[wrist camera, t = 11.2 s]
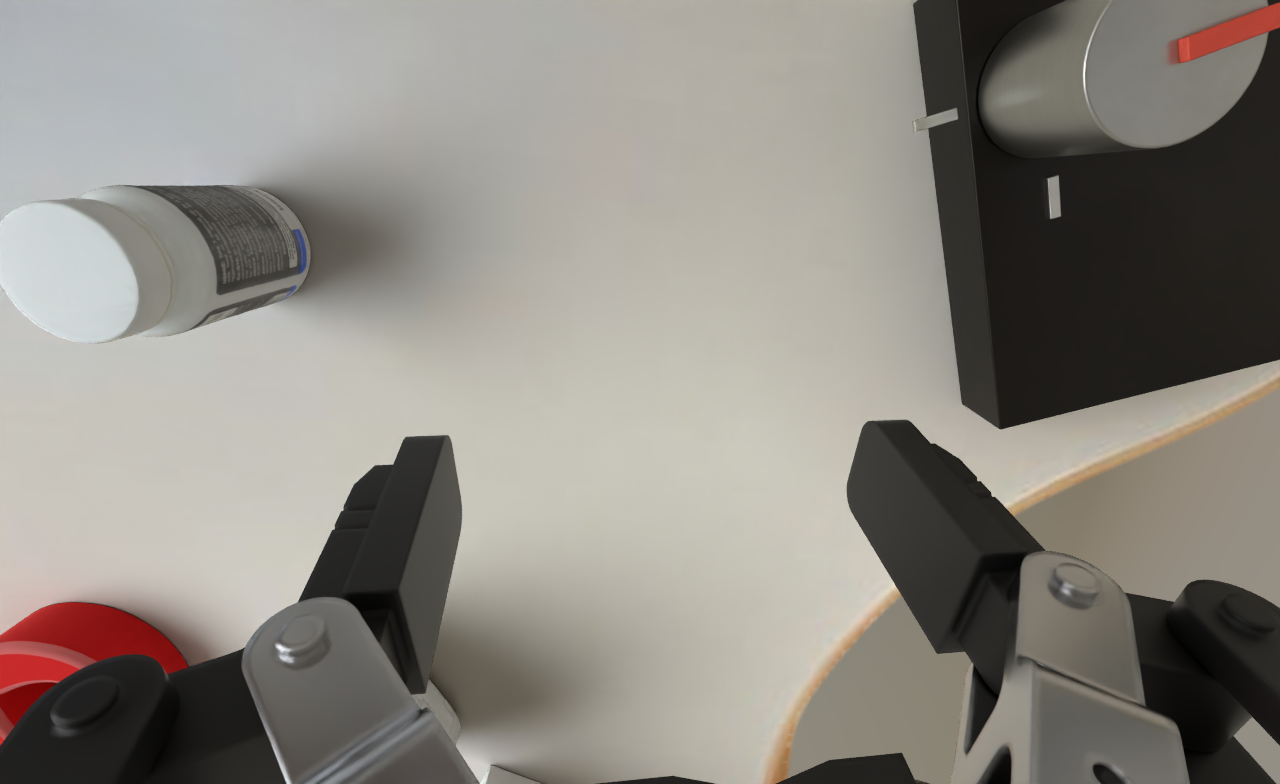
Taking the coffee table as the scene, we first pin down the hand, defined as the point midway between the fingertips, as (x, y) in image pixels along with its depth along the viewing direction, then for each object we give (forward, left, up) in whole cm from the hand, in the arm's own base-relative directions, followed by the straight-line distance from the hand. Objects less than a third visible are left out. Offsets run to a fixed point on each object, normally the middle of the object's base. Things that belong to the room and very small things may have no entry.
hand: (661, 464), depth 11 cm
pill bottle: (-7, -15, -14) cm, 22 cm away
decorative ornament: (+11, -34, -14) cm, 38 cm away
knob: (-4, +15, -11) cm, 19 cm away
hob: (0, +18, -14) cm, 23 cm away
